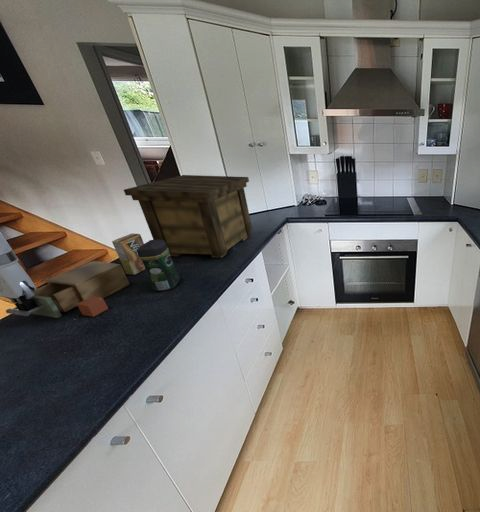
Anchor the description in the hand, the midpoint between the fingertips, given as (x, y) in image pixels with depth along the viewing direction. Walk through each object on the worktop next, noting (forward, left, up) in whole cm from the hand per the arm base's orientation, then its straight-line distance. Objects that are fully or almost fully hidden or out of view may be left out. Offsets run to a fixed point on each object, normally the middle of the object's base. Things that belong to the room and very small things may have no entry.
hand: (30, 311), depth 85 cm
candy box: (+16, +31, -4) cm, 35 cm away
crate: (+40, +50, -4) cm, 64 cm away
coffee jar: (+31, +13, -4) cm, 34 cm away
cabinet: (+8, +15, -4) cm, 17 cm away
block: (+14, +1, -4) cm, 15 cm away
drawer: (+3, +5, -3) cm, 7 cm away
